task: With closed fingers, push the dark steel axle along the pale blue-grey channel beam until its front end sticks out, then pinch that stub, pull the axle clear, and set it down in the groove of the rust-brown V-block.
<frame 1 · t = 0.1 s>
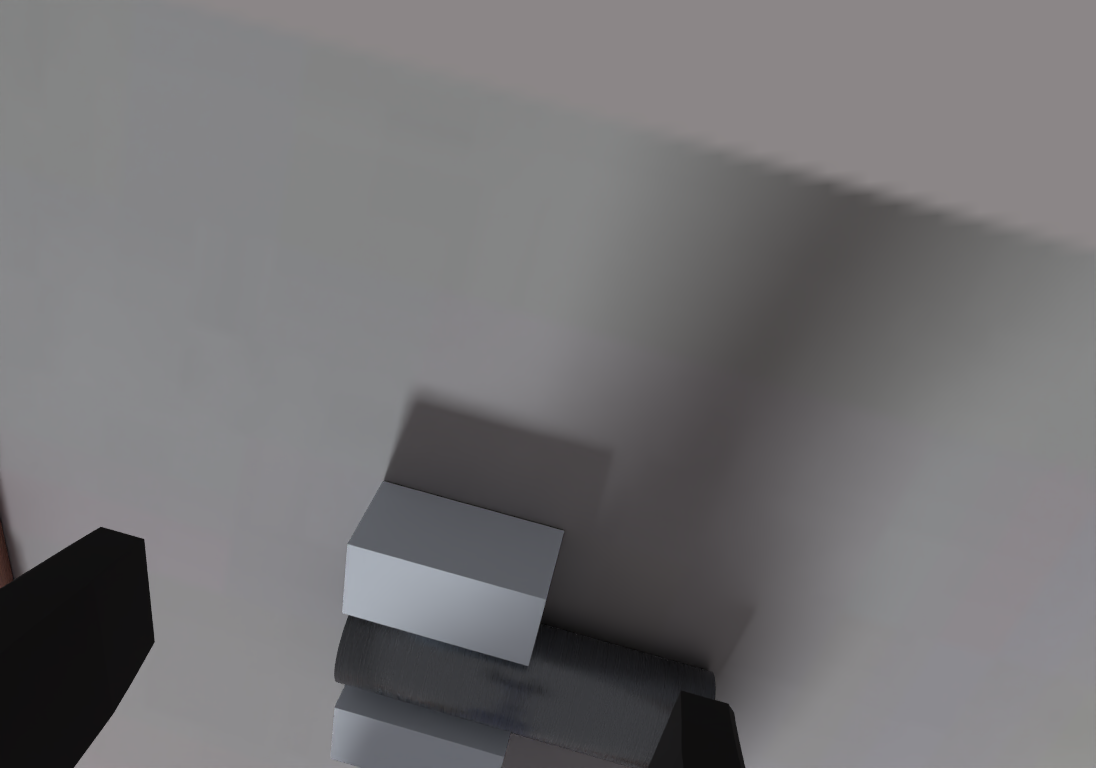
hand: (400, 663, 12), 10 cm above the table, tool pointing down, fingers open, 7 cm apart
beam: (452, 618, 26), on the table
axle: (536, 635, 26), on the table
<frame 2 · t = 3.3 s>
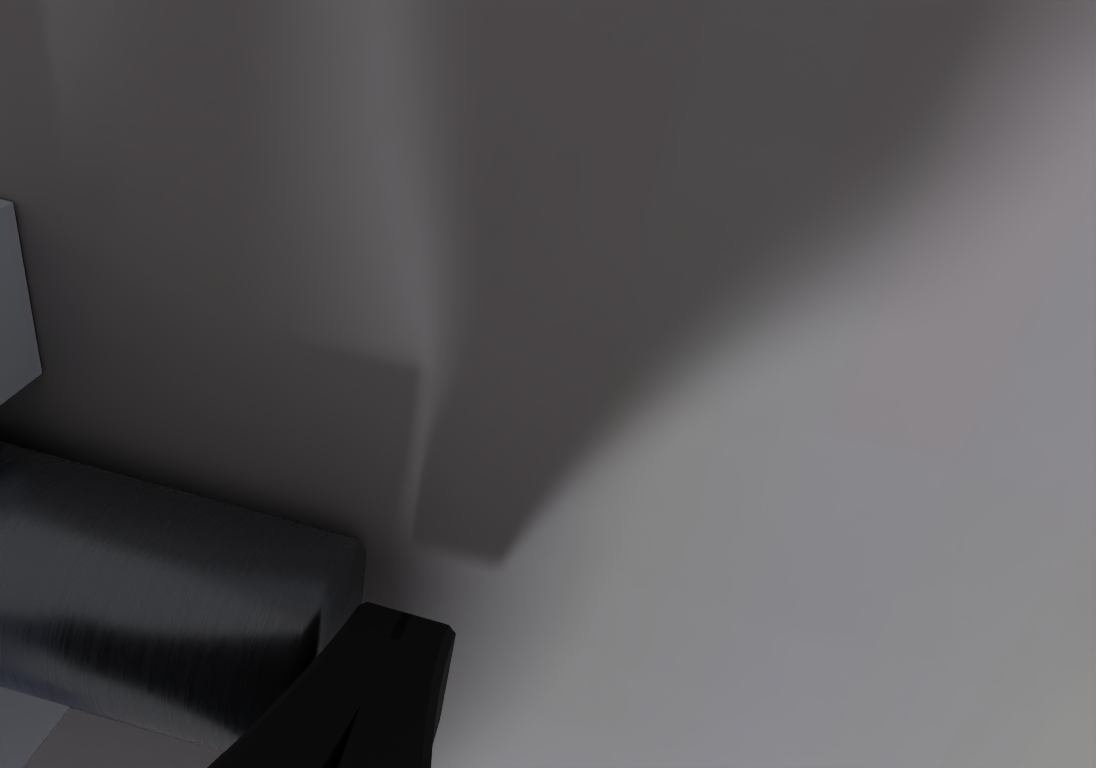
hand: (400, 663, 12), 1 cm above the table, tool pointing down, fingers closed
axle: (47, 474, 13), on the table, tilted 7°, touching gripper
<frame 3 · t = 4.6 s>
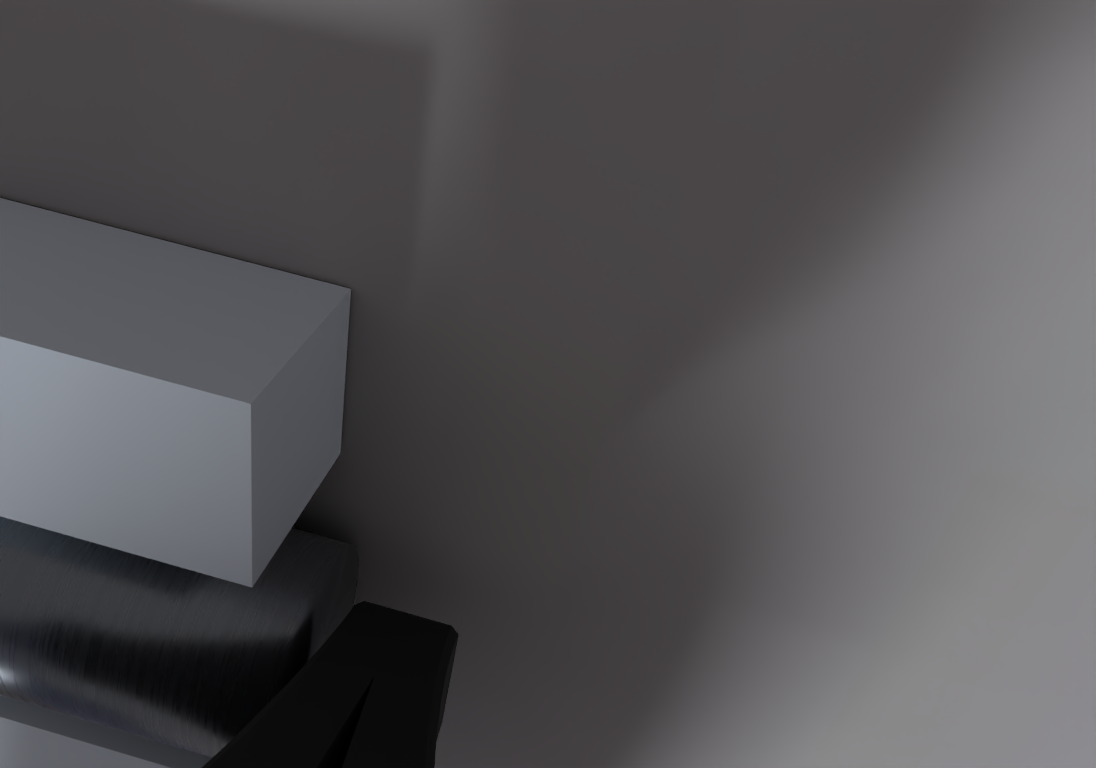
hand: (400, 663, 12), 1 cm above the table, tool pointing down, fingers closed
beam: (172, 514, 13), on the table
axle: (37, 477, 13), on the table, tilted 7°, touching gripper
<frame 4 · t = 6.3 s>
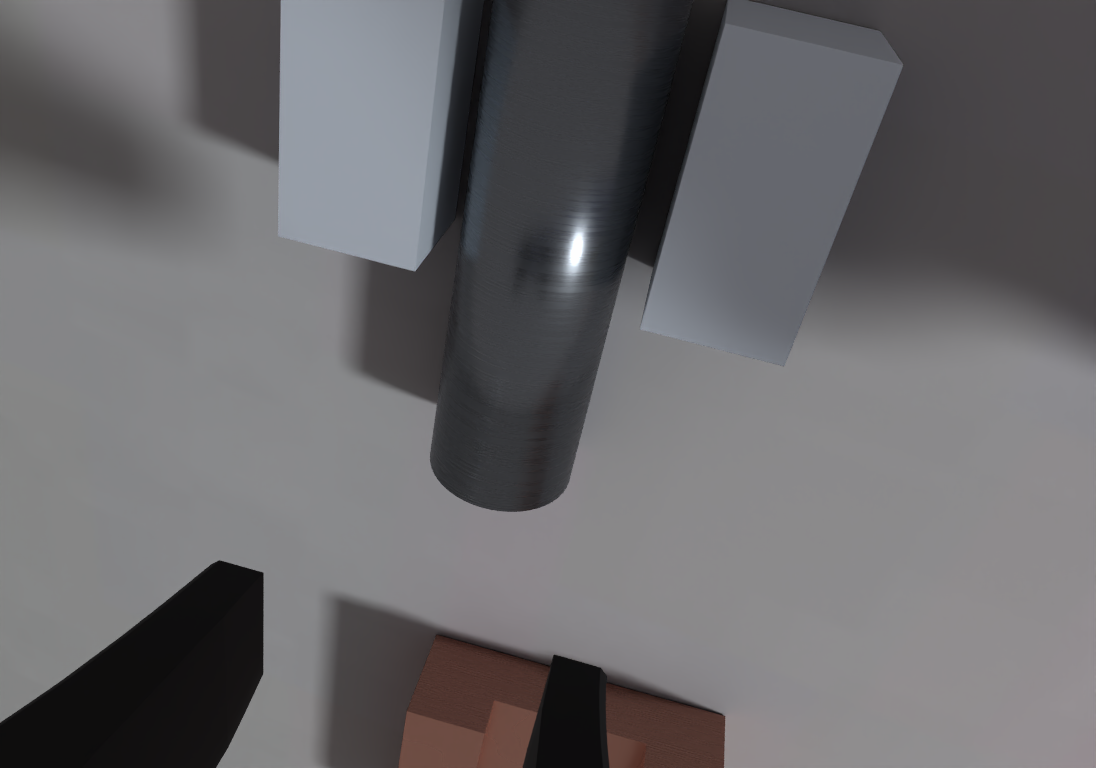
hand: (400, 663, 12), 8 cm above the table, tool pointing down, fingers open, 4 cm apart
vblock: (552, 761, 26), on the table
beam: (578, 117, 16), on the table
axle: (558, 221, 17), on the table
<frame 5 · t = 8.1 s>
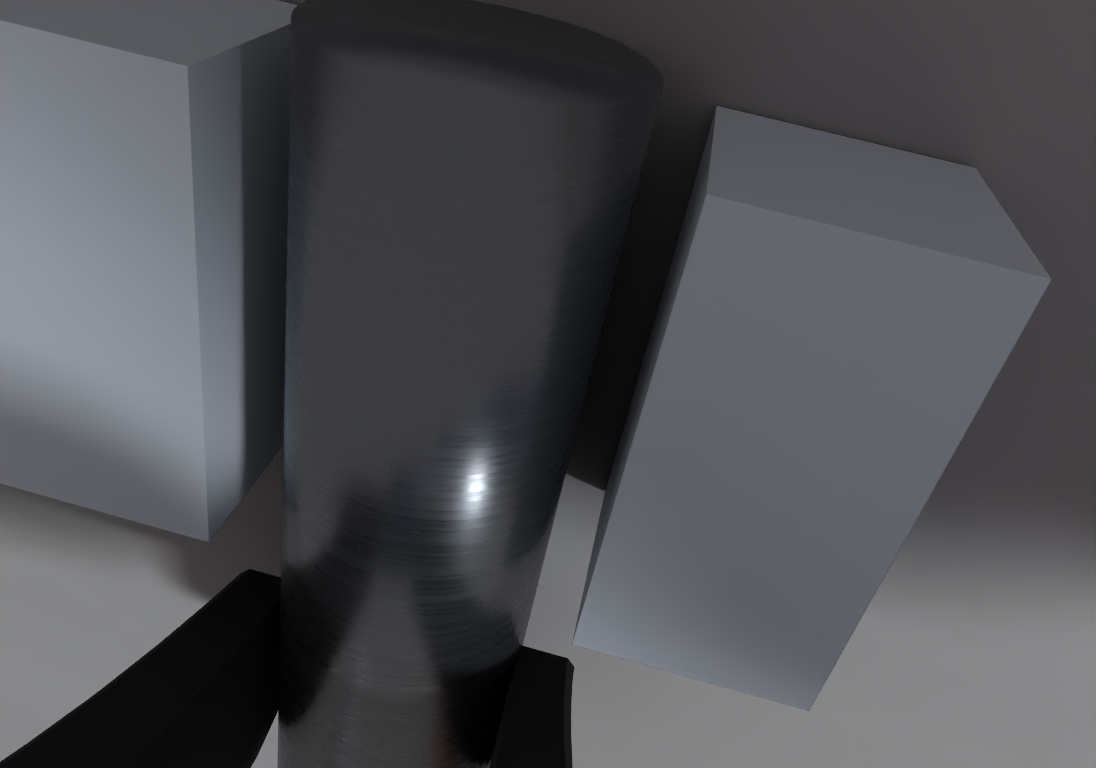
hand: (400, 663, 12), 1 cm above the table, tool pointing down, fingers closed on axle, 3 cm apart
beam: (480, 282, 10), on the table
axle: (457, 424, 11), on the table, touching gripper
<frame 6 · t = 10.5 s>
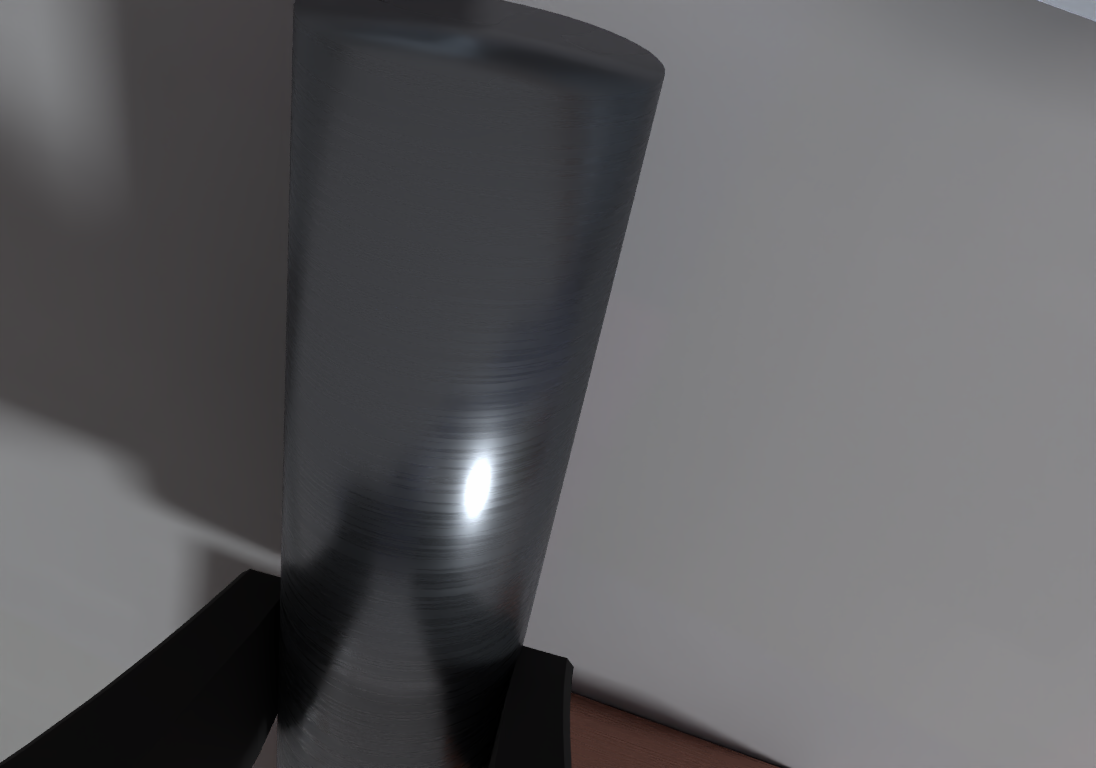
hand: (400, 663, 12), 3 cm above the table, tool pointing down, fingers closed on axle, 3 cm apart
axle: (457, 421, 11), point 1 cm above the table, touching gripper
when the fingers open (4 cm above the table, at t = 13.1 s): axle stays where it is, resting on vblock.
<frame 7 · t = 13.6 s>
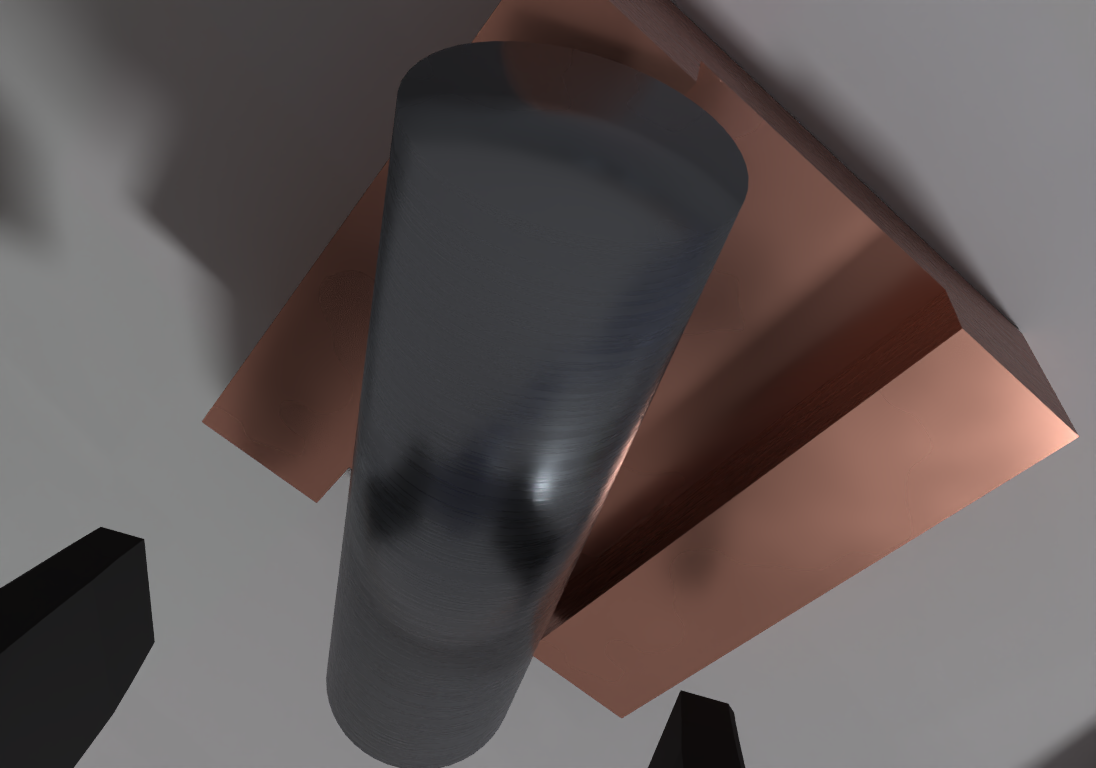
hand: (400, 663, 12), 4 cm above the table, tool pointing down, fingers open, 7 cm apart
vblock: (616, 336, 13), on the table
axle: (465, 399, 12), point 2 cm above the table, tilted 24°, touching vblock
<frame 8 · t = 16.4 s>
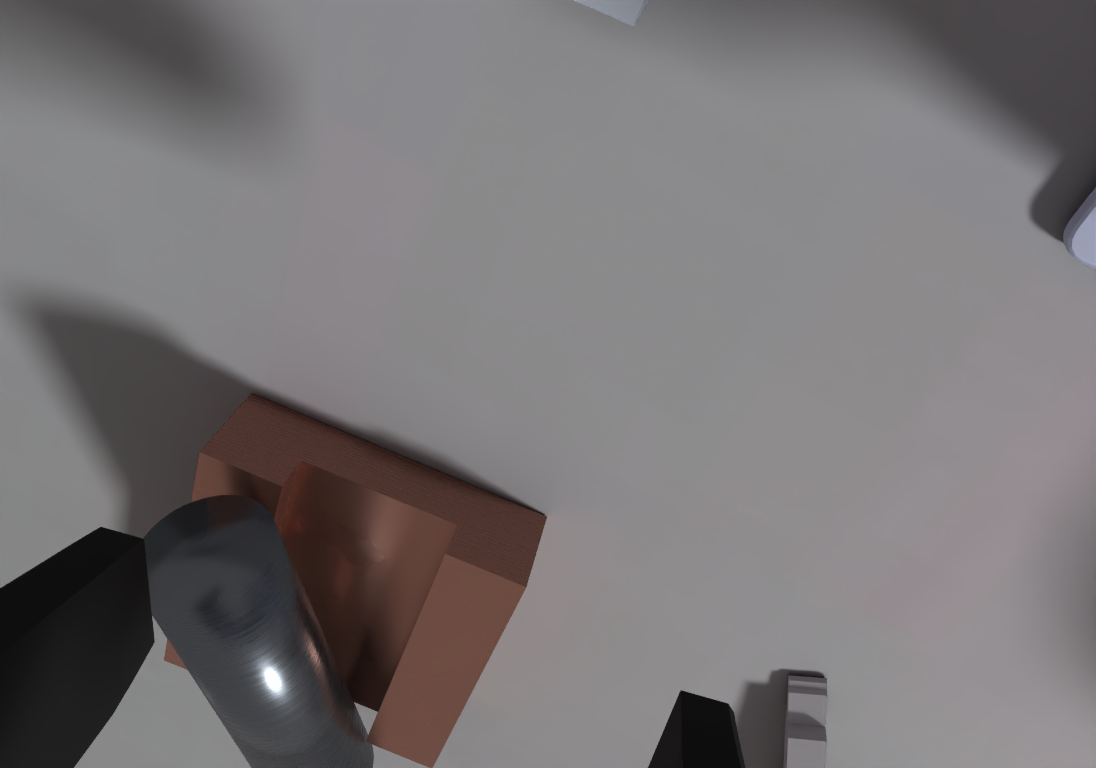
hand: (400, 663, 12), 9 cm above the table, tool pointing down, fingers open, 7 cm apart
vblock: (364, 559, 24), on the table
axle: (273, 623, 23), point 2 cm above the table, tilted 24°, touching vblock
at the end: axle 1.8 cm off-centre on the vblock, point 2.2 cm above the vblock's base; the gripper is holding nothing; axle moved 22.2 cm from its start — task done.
